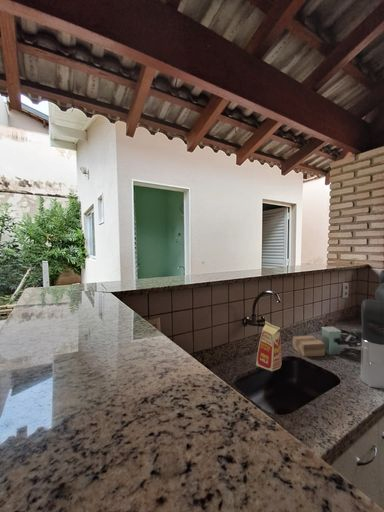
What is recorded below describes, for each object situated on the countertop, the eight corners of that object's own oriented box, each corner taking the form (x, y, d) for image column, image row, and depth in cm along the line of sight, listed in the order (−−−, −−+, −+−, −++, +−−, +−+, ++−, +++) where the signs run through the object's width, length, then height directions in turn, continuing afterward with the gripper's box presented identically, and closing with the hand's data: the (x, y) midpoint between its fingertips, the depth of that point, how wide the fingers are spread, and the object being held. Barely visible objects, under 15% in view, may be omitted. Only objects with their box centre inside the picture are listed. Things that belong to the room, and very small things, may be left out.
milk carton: (256, 365, 110) (256, 322, 109) (266, 358, 116) (266, 318, 115) (274, 372, 103) (274, 327, 102) (284, 365, 109) (284, 322, 108)
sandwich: (324, 355, 119) (324, 343, 118) (303, 356, 118) (303, 344, 117) (311, 346, 130) (312, 335, 129) (292, 347, 129) (292, 336, 128)
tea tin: (340, 354, 120) (341, 330, 120) (328, 354, 120) (329, 331, 119) (332, 348, 126) (332, 326, 126) (321, 349, 126) (321, 326, 125)
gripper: (351, 326, 131) (323, 327, 130) (372, 336, 117) (341, 337, 116) (350, 339, 131) (323, 340, 130) (372, 351, 117) (341, 352, 116)
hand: (331, 339), depth 123 cm, fingers open, 8 cm apart
